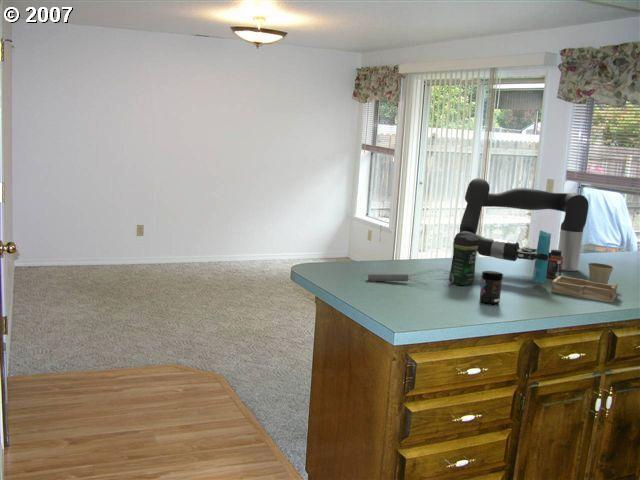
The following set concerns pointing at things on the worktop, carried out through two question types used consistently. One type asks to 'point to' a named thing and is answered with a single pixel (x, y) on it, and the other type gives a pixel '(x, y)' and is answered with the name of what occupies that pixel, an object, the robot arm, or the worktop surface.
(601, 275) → the flower pot
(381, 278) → the kitchen whisk
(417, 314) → the worktop surface
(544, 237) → the tube
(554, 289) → the keyhole tray
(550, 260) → the supplement bottle
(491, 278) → the supplement container
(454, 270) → the coffee jar
